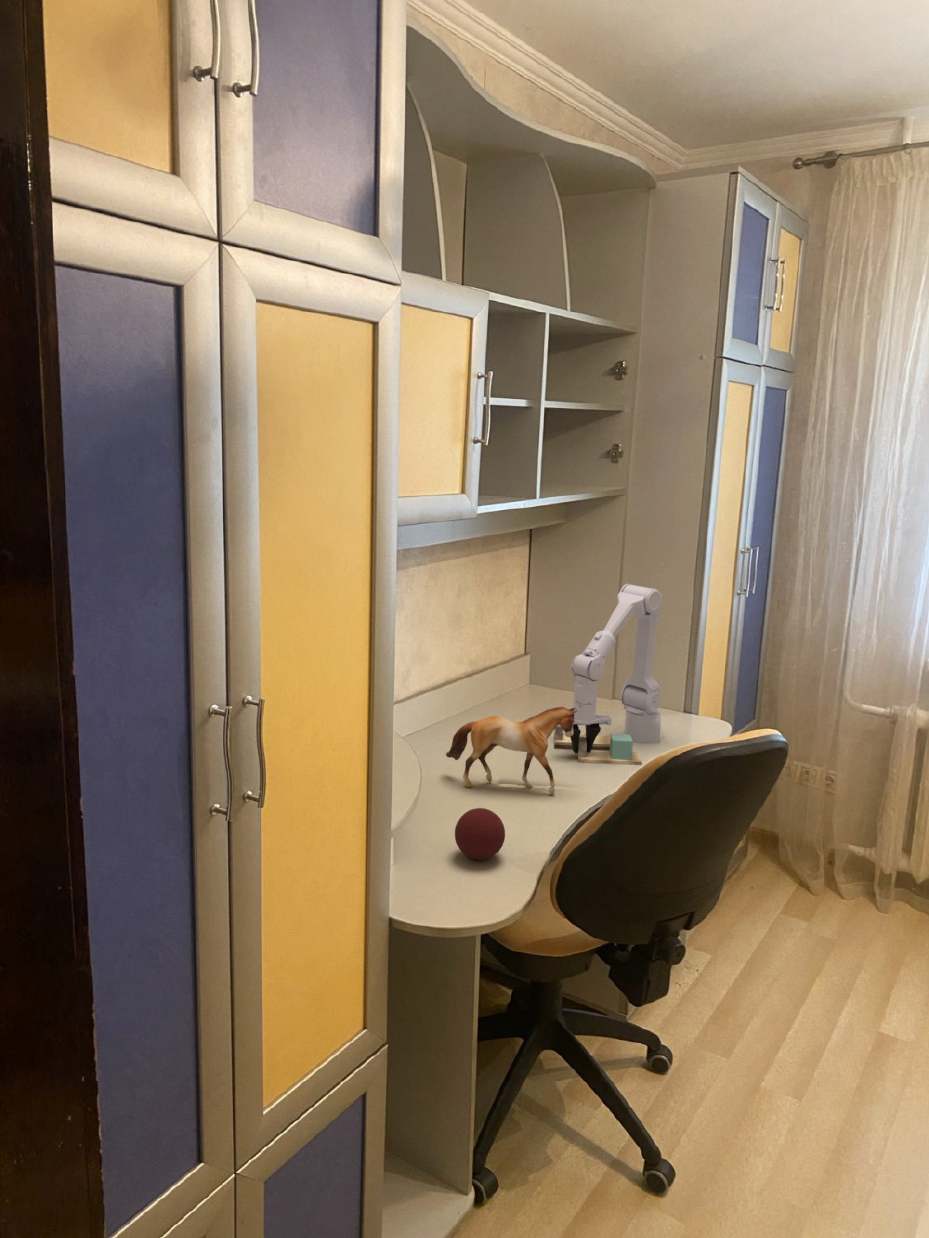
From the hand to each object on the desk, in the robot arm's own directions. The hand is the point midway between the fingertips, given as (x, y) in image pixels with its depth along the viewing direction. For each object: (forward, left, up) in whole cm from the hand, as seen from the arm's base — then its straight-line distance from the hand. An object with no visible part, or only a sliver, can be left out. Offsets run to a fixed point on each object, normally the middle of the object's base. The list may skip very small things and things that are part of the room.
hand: (581, 751), depth 237 cm
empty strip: (-2, -12, -2) cm, 12 cm away
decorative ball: (+25, +57, -3) cm, 62 cm away
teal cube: (-10, 0, -1) cm, 10 cm away
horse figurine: (+19, +18, -3) cm, 26 cm away
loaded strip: (-7, 0, -2) cm, 7 cm away
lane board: (-2, -5, -2) cm, 6 cm away
